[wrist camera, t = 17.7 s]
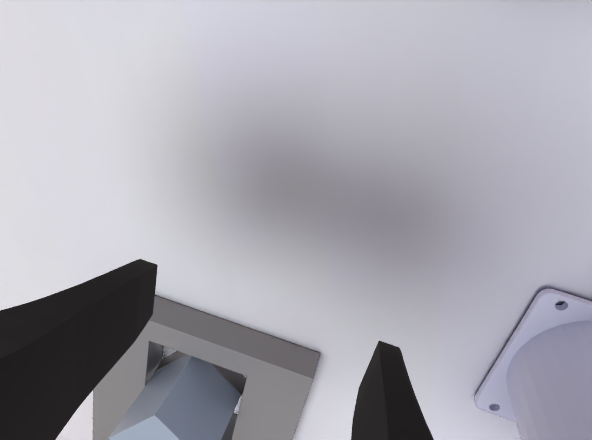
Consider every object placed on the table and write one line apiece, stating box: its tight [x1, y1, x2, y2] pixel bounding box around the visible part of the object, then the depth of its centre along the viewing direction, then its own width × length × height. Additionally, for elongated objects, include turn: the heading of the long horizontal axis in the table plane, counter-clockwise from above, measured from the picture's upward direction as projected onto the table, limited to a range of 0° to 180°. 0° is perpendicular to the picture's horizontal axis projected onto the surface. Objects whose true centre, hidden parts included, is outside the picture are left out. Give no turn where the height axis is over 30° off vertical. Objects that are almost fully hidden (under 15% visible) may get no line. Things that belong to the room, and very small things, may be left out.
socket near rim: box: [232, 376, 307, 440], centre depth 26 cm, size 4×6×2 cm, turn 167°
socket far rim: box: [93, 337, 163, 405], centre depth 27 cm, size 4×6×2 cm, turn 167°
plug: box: [109, 351, 246, 440], centre depth 25 cm, size 4×4×6 cm
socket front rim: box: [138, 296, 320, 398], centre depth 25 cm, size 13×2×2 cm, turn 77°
